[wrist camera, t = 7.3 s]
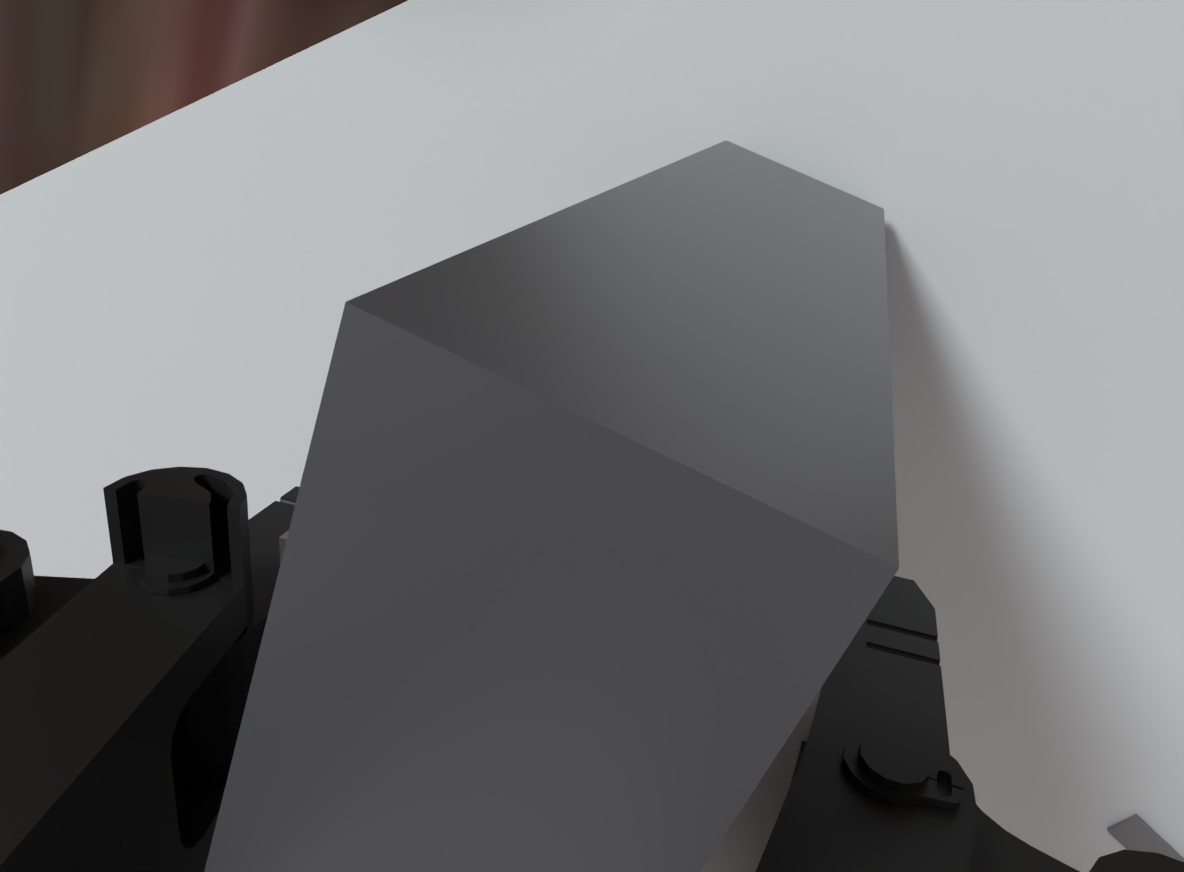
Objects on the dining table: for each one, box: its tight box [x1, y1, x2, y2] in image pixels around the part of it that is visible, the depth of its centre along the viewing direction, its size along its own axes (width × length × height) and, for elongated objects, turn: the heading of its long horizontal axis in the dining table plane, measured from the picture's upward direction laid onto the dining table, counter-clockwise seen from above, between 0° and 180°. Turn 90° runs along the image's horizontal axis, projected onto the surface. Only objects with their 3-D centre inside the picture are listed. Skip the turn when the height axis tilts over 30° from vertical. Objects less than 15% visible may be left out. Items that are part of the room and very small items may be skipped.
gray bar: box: [204, 140, 899, 872], centre depth 13 cm, size 18×3×11 cm, turn 159°
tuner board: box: [0, 0, 1184, 872], centre depth 19 cm, size 28×22×1 cm
